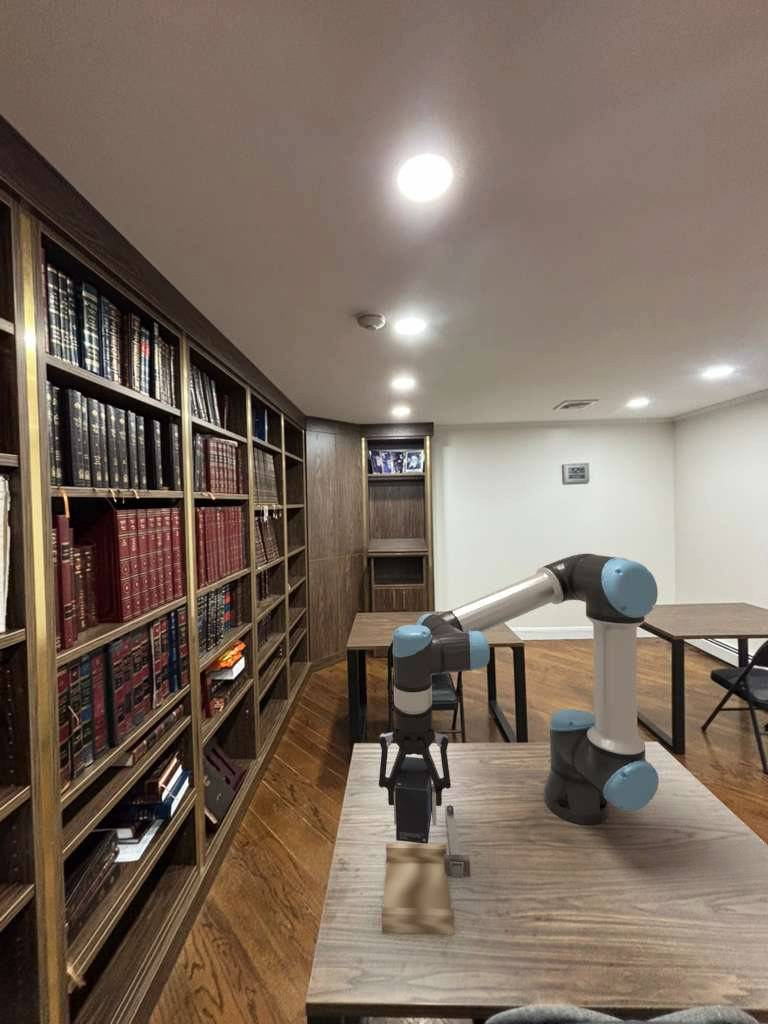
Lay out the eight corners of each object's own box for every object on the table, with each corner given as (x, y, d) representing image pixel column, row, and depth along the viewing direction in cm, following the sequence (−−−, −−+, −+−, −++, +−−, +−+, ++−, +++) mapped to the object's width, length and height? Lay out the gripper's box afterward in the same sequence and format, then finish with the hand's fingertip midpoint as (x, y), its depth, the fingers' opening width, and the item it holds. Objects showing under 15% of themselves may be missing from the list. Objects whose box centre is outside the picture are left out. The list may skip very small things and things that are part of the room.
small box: (430, 845, 82) (427, 789, 81) (395, 842, 83) (392, 787, 83) (434, 806, 92) (431, 757, 92) (403, 804, 93) (401, 755, 93)
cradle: (467, 860, 95) (467, 844, 95) (479, 935, 79) (479, 915, 79) (386, 859, 96) (386, 842, 96) (382, 932, 80) (381, 912, 80)
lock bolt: (453, 815, 109) (453, 802, 109) (462, 877, 91) (462, 861, 91) (445, 815, 109) (445, 801, 109) (452, 876, 91) (452, 860, 91)
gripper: (461, 697, 90) (462, 807, 91) (365, 697, 91) (367, 806, 92) (465, 715, 83) (467, 835, 83) (361, 714, 84) (364, 833, 84)
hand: (415, 819), depth 87 cm, fingers closed on small box, 7 cm apart
